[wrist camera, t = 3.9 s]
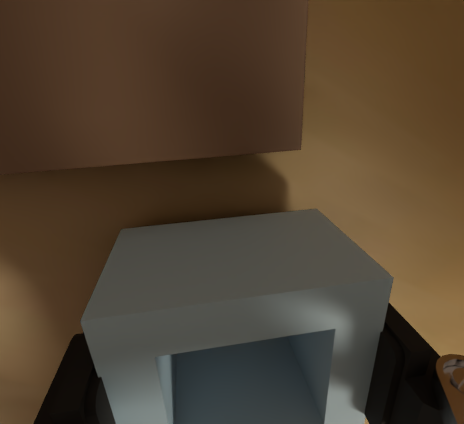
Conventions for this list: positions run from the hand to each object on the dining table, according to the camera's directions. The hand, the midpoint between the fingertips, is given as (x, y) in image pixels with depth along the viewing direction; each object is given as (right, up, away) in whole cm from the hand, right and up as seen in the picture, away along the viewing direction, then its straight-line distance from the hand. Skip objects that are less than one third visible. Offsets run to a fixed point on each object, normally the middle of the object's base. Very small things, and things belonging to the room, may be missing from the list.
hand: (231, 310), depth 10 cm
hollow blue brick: (0, -2, +2) cm, 3 cm away
